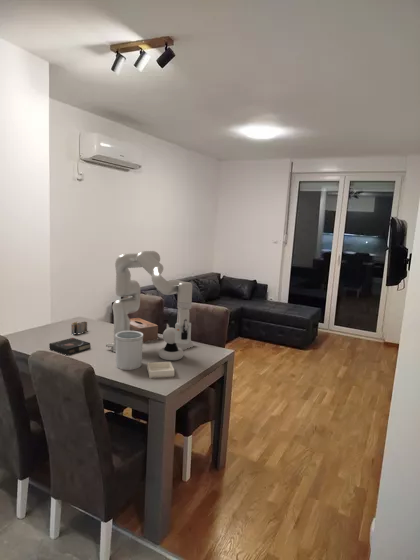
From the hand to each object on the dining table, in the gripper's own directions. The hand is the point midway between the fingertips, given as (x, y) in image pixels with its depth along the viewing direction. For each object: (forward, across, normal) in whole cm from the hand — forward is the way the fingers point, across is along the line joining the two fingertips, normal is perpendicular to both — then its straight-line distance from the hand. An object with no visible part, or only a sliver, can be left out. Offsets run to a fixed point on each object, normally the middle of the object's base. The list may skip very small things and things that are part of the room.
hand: (182, 337), depth 200 cm
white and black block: (+18, -35, +7) cm, 40 cm away
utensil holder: (+18, -8, -28) cm, 34 cm away
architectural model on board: (+19, -74, -58) cm, 96 cm away
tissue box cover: (+18, -63, -18) cm, 68 cm away
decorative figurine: (+18, -18, -3) cm, 25 cm away
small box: (+3, 0, 0) cm, 3 cm away
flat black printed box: (+19, -40, -61) cm, 75 cm away
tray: (+17, +5, -12) cm, 22 cm away
